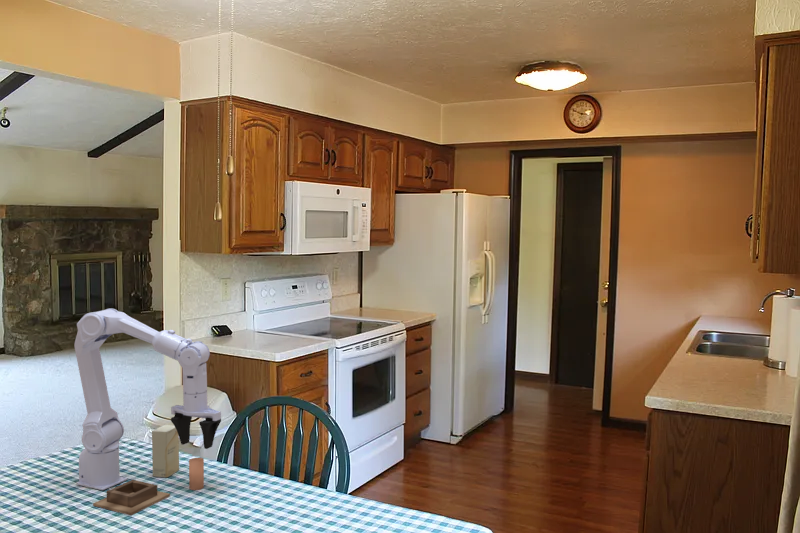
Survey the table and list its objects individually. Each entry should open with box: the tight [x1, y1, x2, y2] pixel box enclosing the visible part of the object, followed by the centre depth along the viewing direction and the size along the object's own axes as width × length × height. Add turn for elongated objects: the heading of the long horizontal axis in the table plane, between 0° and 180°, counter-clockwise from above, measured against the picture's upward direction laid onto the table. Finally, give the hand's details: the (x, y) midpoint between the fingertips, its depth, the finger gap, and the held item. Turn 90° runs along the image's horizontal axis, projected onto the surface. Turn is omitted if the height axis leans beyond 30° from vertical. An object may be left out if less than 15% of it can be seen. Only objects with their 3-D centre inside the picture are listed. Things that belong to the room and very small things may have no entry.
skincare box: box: [151, 424, 180, 478], centre depth 175 cm, size 6×4×12 cm
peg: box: [188, 457, 205, 491], centre depth 166 cm, size 4×4×7 cm
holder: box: [92, 479, 171, 516], centre depth 157 cm, size 12×12×3 cm
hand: (196, 445), depth 165 cm, fingers open, 7 cm apart
